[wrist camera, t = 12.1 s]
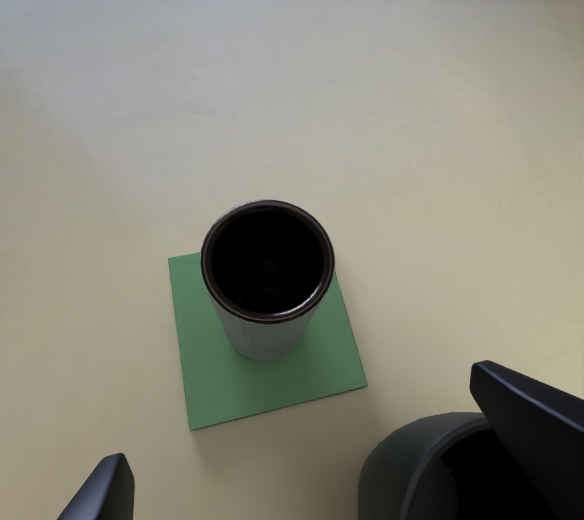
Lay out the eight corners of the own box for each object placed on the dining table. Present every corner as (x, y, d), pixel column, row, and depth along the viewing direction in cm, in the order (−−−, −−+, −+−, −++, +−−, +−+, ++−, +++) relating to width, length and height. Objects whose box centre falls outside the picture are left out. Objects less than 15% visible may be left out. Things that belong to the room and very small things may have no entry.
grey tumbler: (260, 379, 21) (262, 355, 11) (209, 319, 22) (170, 250, 12) (318, 325, 22) (363, 262, 12) (267, 271, 23) (273, 175, 13)
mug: (572, 577, 19) (851, 728, 10) (340, 600, 18) (421, 794, 9) (527, 403, 22) (711, 401, 13) (326, 414, 21) (377, 419, 12)
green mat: (366, 386, 21) (368, 385, 21) (190, 430, 20) (189, 431, 19) (322, 232, 25) (323, 230, 24) (169, 260, 23) (167, 257, 23)
